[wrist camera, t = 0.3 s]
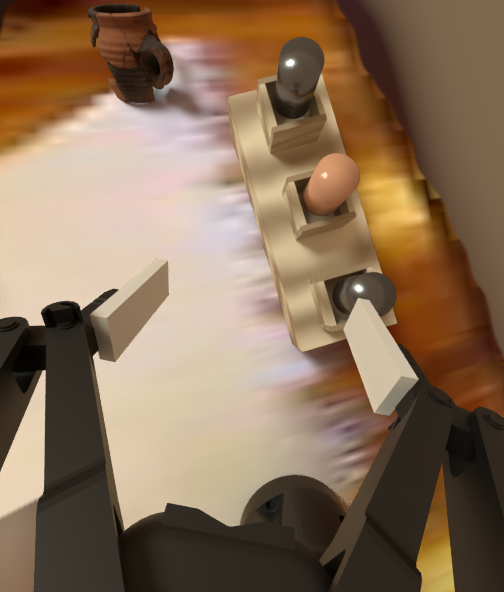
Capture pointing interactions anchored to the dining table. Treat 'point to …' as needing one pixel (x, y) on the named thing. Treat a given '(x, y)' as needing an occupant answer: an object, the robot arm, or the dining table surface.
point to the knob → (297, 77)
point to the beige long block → (300, 211)
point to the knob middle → (331, 184)
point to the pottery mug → (131, 50)
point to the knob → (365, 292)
